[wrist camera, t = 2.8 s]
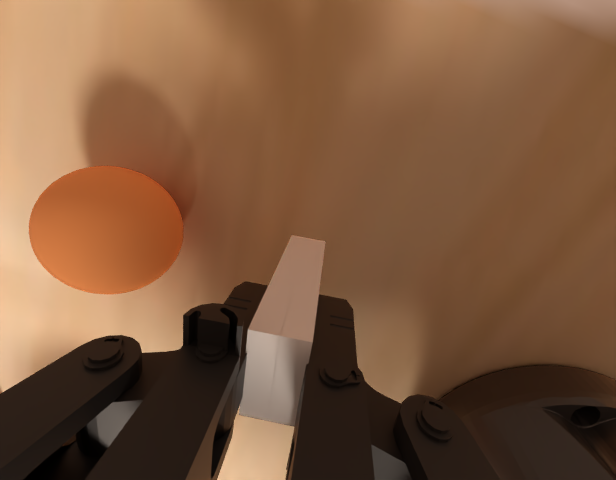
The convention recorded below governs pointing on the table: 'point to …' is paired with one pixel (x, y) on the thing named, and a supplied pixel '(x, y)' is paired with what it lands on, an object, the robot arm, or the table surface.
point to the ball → (106, 230)
